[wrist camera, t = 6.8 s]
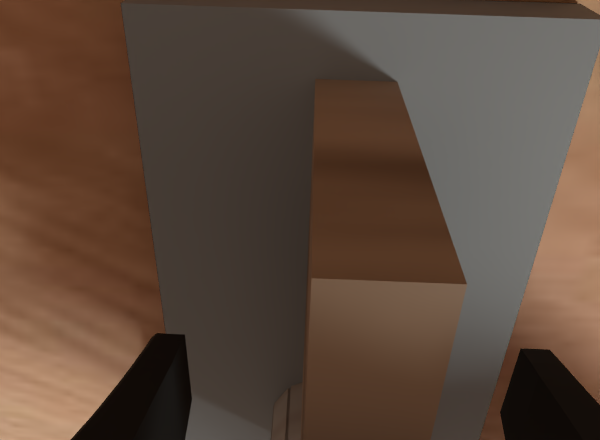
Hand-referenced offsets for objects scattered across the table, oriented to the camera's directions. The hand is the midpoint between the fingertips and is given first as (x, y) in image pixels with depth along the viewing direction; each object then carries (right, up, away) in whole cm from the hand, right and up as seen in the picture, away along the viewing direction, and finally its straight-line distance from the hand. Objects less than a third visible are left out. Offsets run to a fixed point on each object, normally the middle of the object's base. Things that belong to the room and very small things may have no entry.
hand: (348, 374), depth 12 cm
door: (0, +1, +4) cm, 4 cm away
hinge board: (0, +1, +5) cm, 5 cm away
